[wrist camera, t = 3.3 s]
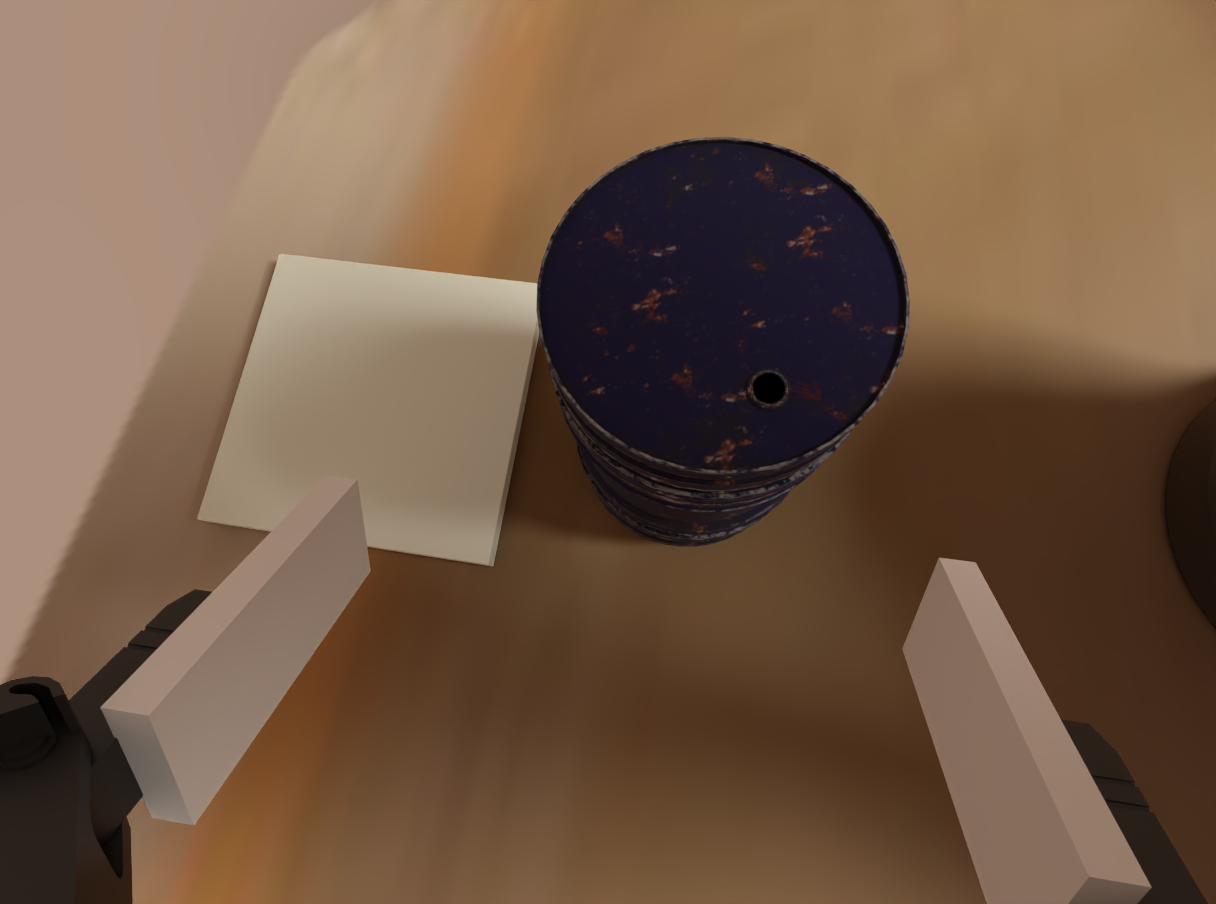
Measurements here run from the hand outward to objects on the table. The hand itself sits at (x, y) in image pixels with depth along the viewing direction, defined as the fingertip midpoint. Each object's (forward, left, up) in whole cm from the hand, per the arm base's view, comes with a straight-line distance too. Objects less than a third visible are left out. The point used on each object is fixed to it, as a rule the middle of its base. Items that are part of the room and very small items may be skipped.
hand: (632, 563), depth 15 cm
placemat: (+14, -7, -15) cm, 22 cm away
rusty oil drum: (-1, -7, -15) cm, 17 cm away
